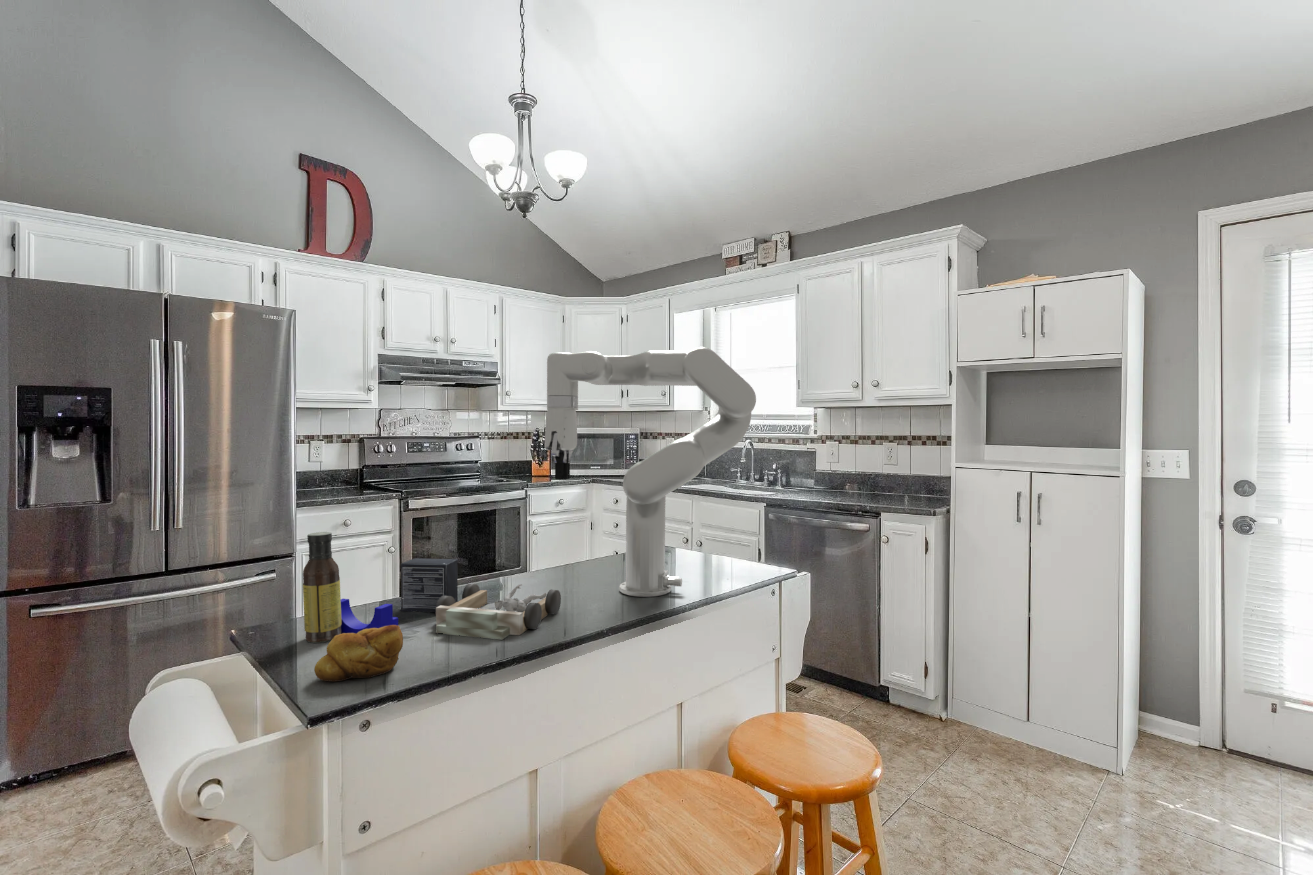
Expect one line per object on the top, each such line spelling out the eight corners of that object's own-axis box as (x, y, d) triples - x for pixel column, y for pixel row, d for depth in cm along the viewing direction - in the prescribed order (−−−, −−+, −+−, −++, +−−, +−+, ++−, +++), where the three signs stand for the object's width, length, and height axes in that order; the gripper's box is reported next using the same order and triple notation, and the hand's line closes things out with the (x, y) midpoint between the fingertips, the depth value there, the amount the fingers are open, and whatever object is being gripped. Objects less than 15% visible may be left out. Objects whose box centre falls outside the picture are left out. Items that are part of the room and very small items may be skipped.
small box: (459, 604, 141) (459, 558, 141) (446, 613, 135) (446, 564, 135) (414, 603, 142) (414, 556, 142) (399, 611, 136) (399, 563, 136)
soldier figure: (554, 615, 137) (512, 610, 128) (540, 628, 138) (497, 624, 129) (544, 585, 141) (503, 578, 132) (530, 598, 143) (488, 591, 134)
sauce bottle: (345, 631, 123) (344, 529, 122) (336, 642, 116) (336, 535, 116) (309, 633, 121) (308, 530, 121) (298, 645, 115) (297, 536, 115)
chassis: (561, 609, 137) (561, 587, 137) (519, 641, 118) (519, 614, 117) (475, 602, 143) (475, 580, 142) (420, 631, 123) (420, 606, 123)
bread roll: (316, 692, 95) (315, 639, 95) (311, 670, 103) (311, 622, 103) (406, 675, 102) (406, 625, 102) (395, 656, 110) (395, 610, 110)
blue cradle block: (398, 632, 122) (398, 602, 122) (381, 640, 118) (381, 608, 118) (349, 626, 126) (349, 596, 126) (331, 633, 122) (331, 602, 122)
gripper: (560, 404, 162) (560, 476, 162) (535, 403, 147) (535, 481, 148) (587, 404, 160) (587, 477, 160) (565, 402, 145) (565, 482, 146)
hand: (562, 478), depth 154 cm, fingers closed
